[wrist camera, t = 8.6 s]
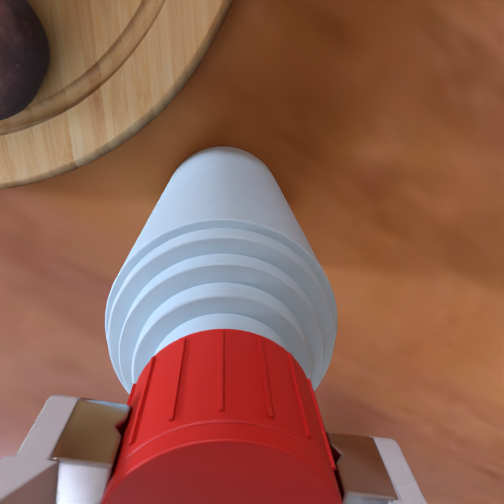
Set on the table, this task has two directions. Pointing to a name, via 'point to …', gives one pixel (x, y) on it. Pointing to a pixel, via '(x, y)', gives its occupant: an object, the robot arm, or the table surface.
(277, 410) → the cap
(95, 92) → the wooden plate
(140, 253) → the bottle
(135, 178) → the table surface
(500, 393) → the table surface
